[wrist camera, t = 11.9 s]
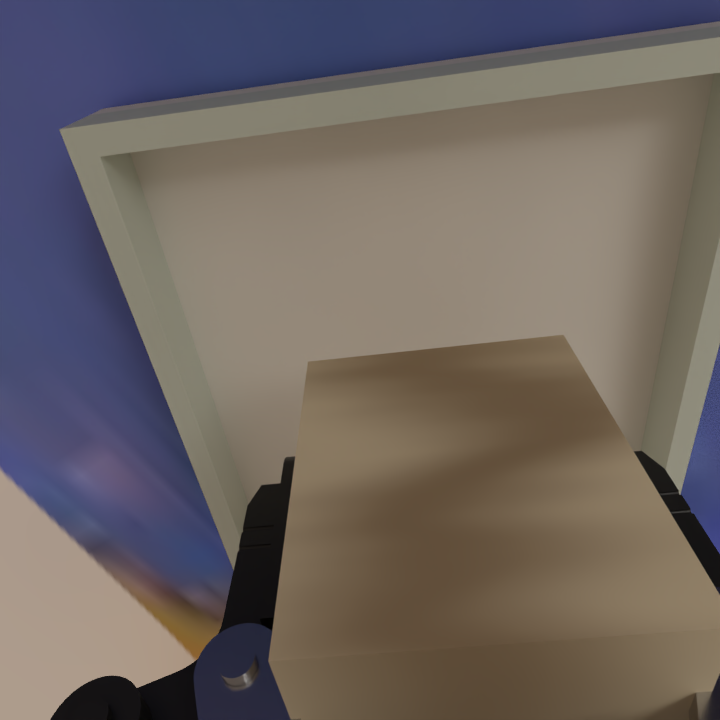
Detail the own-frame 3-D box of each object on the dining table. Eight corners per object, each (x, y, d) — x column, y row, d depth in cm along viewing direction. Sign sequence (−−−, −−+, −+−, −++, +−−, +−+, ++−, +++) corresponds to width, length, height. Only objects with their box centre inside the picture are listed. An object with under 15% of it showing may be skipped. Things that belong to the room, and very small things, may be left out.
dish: (732, 19, 12) (802, 25, 10) (638, 483, 20) (669, 537, 18) (103, 108, 13) (59, 129, 11) (246, 518, 21) (234, 572, 19)
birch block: (563, 334, 11) (739, 626, 6) (548, 512, 14) (660, 815, 9) (308, 361, 11) (268, 661, 6) (342, 529, 14) (334, 833, 9)
